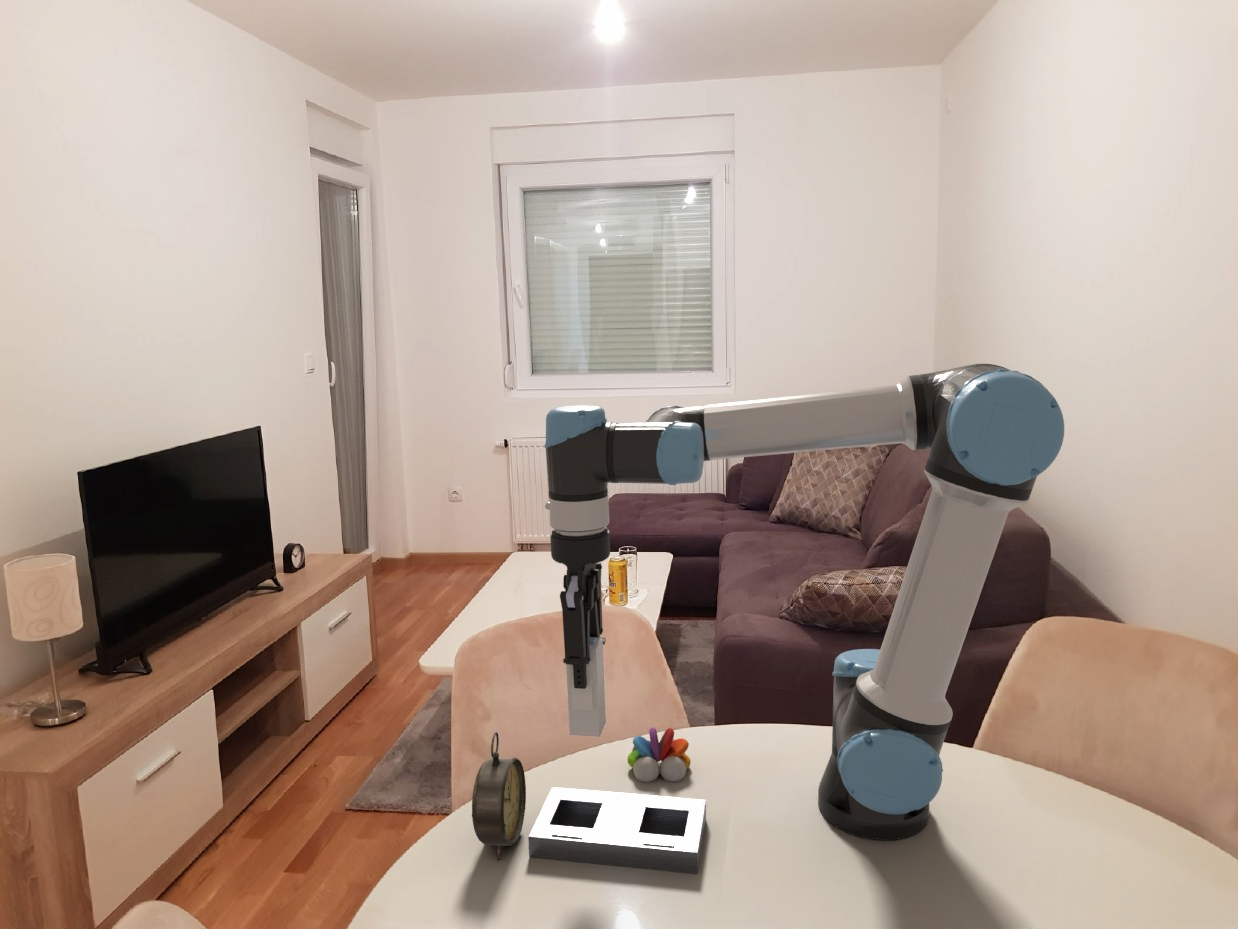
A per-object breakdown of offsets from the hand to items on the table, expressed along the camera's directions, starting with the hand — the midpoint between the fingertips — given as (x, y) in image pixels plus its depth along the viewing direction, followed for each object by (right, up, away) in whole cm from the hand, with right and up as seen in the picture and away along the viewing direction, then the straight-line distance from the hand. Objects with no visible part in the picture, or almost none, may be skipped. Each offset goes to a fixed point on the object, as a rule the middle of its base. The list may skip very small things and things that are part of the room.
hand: (587, 700), depth 116 cm
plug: (0, -4, +1) cm, 4 cm away
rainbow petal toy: (+10, -17, +21) cm, 28 cm away
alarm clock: (-12, -21, +3) cm, 24 cm away
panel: (+4, -20, +3) cm, 21 cm away
